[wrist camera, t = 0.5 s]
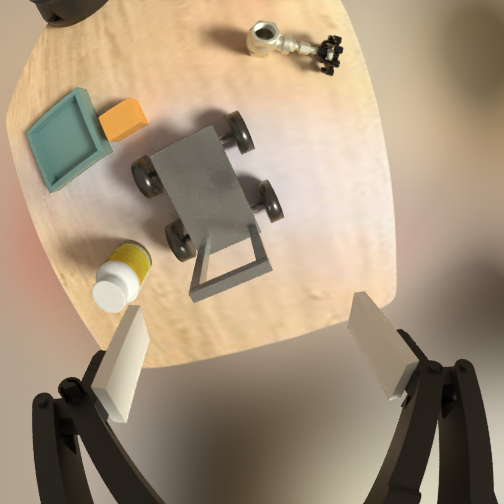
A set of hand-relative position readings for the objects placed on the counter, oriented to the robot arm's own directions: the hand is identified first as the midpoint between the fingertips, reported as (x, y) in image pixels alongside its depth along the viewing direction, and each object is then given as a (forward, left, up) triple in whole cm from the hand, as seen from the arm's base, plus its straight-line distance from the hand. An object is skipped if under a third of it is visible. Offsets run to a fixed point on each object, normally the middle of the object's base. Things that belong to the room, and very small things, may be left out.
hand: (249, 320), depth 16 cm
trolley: (-5, -2, -25) cm, 26 cm away
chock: (-19, -8, -26) cm, 33 cm away
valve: (-19, +16, -26) cm, 36 cm away
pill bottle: (0, -18, -26) cm, 31 cm away
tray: (-22, -18, -25) cm, 38 cm away
